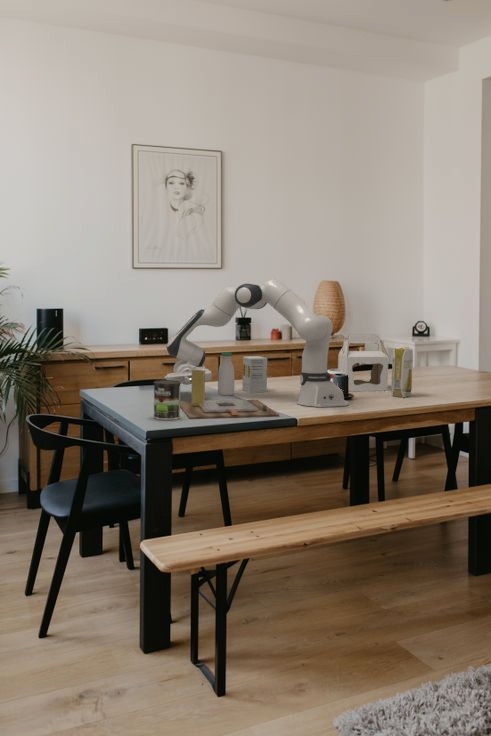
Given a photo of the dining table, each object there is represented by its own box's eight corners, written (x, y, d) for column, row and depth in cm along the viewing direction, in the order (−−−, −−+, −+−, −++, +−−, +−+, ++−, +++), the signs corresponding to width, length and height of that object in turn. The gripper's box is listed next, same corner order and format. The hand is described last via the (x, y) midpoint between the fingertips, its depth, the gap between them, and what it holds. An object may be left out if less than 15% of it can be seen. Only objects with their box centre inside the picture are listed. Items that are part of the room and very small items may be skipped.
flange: (245, 402, 301) (246, 367, 299) (262, 414, 273) (262, 376, 271) (189, 403, 295) (189, 368, 293) (200, 415, 267) (200, 377, 265)
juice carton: (404, 398, 324) (406, 347, 321) (389, 396, 329) (391, 346, 326) (412, 396, 332) (415, 346, 329) (397, 394, 336) (399, 345, 333)
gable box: (377, 387, 360) (379, 333, 357) (387, 391, 347) (389, 335, 344) (336, 387, 355) (338, 333, 352) (345, 391, 343) (347, 335, 339)
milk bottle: (237, 395, 326) (238, 353, 324) (223, 396, 322) (224, 353, 320) (228, 393, 333) (229, 351, 330) (214, 394, 328) (215, 352, 326)
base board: (257, 401, 309) (257, 394, 309) (279, 416, 274) (279, 409, 274) (177, 403, 301) (177, 396, 301) (189, 419, 266) (189, 411, 266)
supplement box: (241, 390, 342) (242, 356, 340) (258, 389, 346) (259, 355, 344) (250, 393, 333) (250, 358, 331) (267, 392, 337) (267, 357, 335)
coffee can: (173, 421, 262) (173, 384, 260) (149, 418, 265) (149, 382, 264) (185, 416, 271) (185, 381, 270) (161, 414, 275) (161, 379, 273)
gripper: (163, 369, 311) (167, 375, 298) (207, 365, 316) (214, 371, 303) (164, 383, 313) (168, 390, 300) (208, 379, 317) (214, 385, 304)
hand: (191, 380), depth 301 cm, fingers closed
